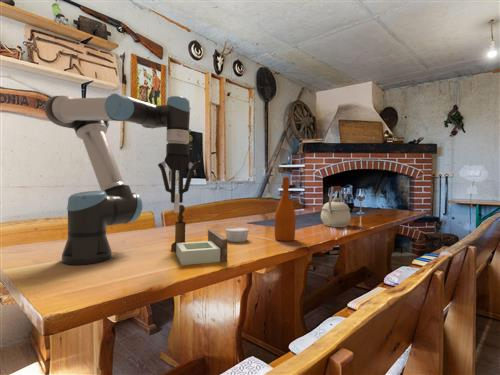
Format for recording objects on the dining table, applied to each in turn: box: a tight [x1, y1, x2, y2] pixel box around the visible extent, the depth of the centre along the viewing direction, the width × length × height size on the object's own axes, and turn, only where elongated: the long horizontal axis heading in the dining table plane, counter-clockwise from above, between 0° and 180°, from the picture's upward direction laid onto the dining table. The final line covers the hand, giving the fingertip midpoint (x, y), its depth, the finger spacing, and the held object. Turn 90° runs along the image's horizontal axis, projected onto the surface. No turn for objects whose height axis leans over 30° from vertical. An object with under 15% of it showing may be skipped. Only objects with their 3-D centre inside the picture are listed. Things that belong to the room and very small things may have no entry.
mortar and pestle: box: [170, 204, 186, 253], centre depth 117 cm, size 7×6×18 cm
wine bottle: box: [274, 176, 297, 242], centre depth 140 cm, size 10×10×30 cm
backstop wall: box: [207, 229, 228, 263], centre depth 110 cm, size 2×20×8 cm, turn 21°
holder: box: [175, 240, 221, 266], centre depth 104 cm, size 13×13×4 cm
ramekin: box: [224, 227, 250, 243], centre depth 138 cm, size 11×11×5 cm
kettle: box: [320, 185, 352, 228], centre depth 186 cm, size 25×18×25 cm
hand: (176, 212), depth 102 cm, fingers closed
